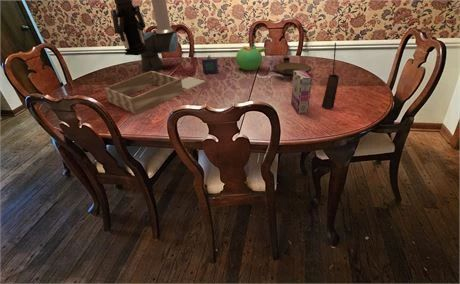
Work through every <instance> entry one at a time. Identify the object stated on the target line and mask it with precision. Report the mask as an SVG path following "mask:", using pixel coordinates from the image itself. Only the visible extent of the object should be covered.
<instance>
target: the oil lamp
mask: <svg viewBox="0 0 460 284" xmlns="http://www.w3.org/2000/svg"><path fill="white" fill-rule="evenodd" d="M290 58H291V57H289V56H288V55H287V53H283V62H281V63H276V64H274V65H273V68H272V69H271V70H272V72H274V73H275V74H278V75H280V76H283V77H293V71H297V70H304V71H305V72H306V73H307V74H308V73H309V72H311V70H312V67H311V65H308V64H306V63H301V62H290Z"/></svg>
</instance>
